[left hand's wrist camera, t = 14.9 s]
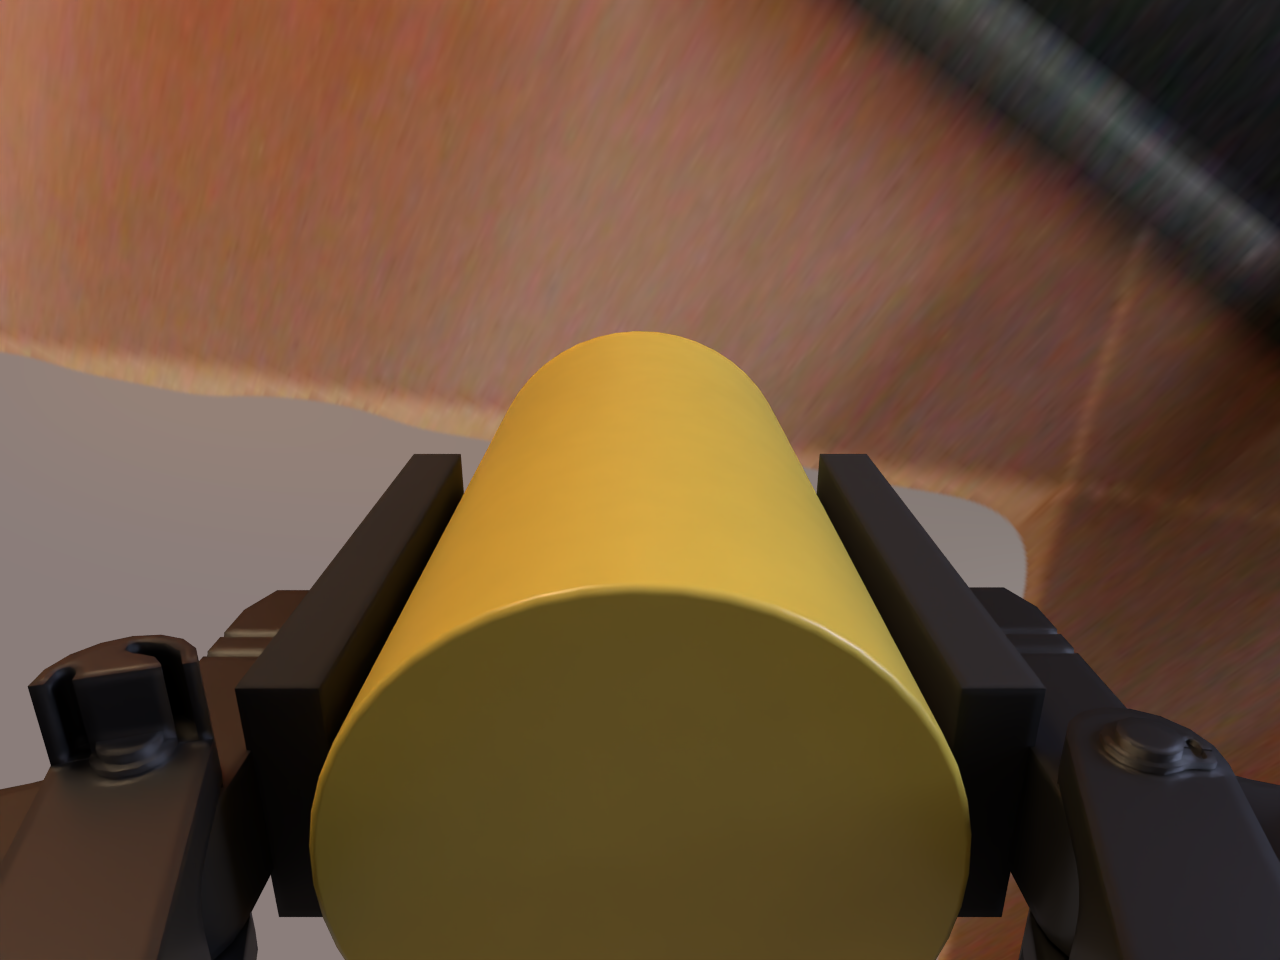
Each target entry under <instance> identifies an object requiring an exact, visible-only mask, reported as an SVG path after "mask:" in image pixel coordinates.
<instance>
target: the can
mask: <svg viewBox="0 0 1280 960" xmlns="http://www.w3.org/2000/svg"><path fill="white" fill-rule="evenodd" d="M309 849H310V858H311V867H312V876H313V884H314V888H315V892H316V895H317V899H318V902H319V905H320V909H321V912H322V916H323V918H324V921H325V923H326V925H327V927H328V929H329V931H330V933H331V936H332V938H333V940H334V942H335V944H336V947H337V948H338V950H339V951H340V953H341V954H342V956H343V957H344V959H345V960H936V959H937V957H938V955H939V953H940V952H941V950H942V948H943V947H944V945H945V943H946V942H947V940H948V938H949V936H950V933H951V931H952V929H953V926H954V924H955V921H956V919H957V916H958V914H959V911H960V909H961V906H962V902H963V898H964V893H965V889H966V885H967V880H968V876H969V866H970V850H971V825H970V816H969V807H968V799H967V796H966V792H965V789H964V785H963V781H962V778H961V774H960V771H959V767H958V765H957V763H956V760H955V758H954V756H953V754H952V752H951V750H950V748H949V746H948V744H947V741H946V739H945V737H944V735H943V733H942V731H941V729H940V727H939V725H938V723H937V722H936V720H935V718H934V716H933V714H932V712H931V710H930V708H929V706H928V705H927V703H926V701H925V699H924V697H923V695H922V693H921V691H920V689H919V687H918V686H917V684H916V682H915V680H914V678H913V676H912V674H911V672H910V670H909V669H908V667H907V665H906V663H905V661H904V659H903V657H902V655H901V653H900V651H899V650H898V648H897V646H896V644H895V642H894V640H893V638H892V636H891V634H890V633H889V631H888V629H887V627H886V625H885V623H884V621H883V619H882V617H881V615H880V614H879V612H878V610H877V608H876V606H875V604H874V602H873V600H872V598H871V597H870V595H869V593H868V591H867V589H866V587H865V585H864V583H863V581H862V579H861V578H860V576H859V574H858V572H857V570H856V568H855V566H854V564H853V562H852V560H851V559H850V557H849V555H848V553H847V551H846V549H845V547H844V545H843V543H842V542H841V540H840V538H839V536H838V534H837V532H836V530H835V528H834V526H833V524H832V523H831V521H830V519H829V517H828V515H827V513H826V511H825V509H824V507H823V506H822V504H821V502H820V500H819V498H818V496H817V494H816V492H815V491H814V488H813V487H812V485H811V483H810V481H809V479H808V477H807V475H806V473H805V471H804V470H803V468H802V466H801V464H800V462H799V460H798V458H797V456H796V454H795V452H794V451H793V449H792V447H791V445H790V443H789V441H788V439H787V437H786V435H785V434H784V432H783V430H782V428H781V426H780V424H779V422H778V420H777V418H776V416H775V415H774V413H773V411H772V409H771V407H770V405H769V403H768V402H767V400H766V399H765V397H764V396H763V394H762V393H761V391H760V390H759V388H758V387H757V386H756V385H755V384H754V383H753V381H752V380H751V379H750V378H749V377H748V376H747V375H746V374H745V373H744V372H743V371H742V370H741V369H740V368H738V367H737V366H736V365H735V364H734V363H733V362H731V361H730V360H729V359H727V358H725V357H724V356H722V355H721V354H719V353H718V352H716V351H715V350H713V349H711V348H708V347H706V346H704V345H702V344H700V343H698V342H695V341H692V340H689V339H686V338H683V337H680V336H676V335H670V334H665V333H659V332H642V331H634V332H622V333H614V334H610V335H605V336H601V337H597V338H594V339H591V340H588V341H586V342H583V343H580V344H578V345H576V346H574V347H572V348H570V349H568V350H566V351H564V352H562V353H560V354H559V355H558V356H556V357H555V358H553V359H552V360H551V361H549V362H548V363H546V364H545V365H544V366H543V367H542V368H541V369H539V370H538V371H537V372H536V373H535V374H534V375H533V376H532V377H531V378H530V379H529V380H528V382H527V383H526V384H525V385H524V386H523V388H522V389H521V390H520V391H519V393H518V394H517V396H516V398H515V399H514V401H513V402H512V404H511V406H510V407H509V409H508V411H507V413H506V415H505V417H504V419H503V421H502V422H501V424H500V426H499V428H498V430H497V432H496V434H495V436H494V438H493V440H492V441H491V443H490V445H489V447H488V449H487V451H486V453H485V455H484V457H483V459H482V460H481V462H480V464H479V466H478V468H477V470H476V472H475V474H474V476H473V478H472V480H471V481H470V483H469V485H468V487H467V489H466V491H465V493H464V495H463V497H462V498H461V500H460V502H459V504H458V506H457V508H456V510H455V512H454V514H453V515H452V517H451V519H450V521H449V523H448V525H447V527H446V529H445V531H444V533H443V534H442V536H441V538H440V540H439V542H438V544H437V546H436V548H435V550H434V552H433V553H432V555H431V557H430V559H429V561H428V563H427V565H426V567H425V569H424V571H423V572H422V574H421V576H420V578H419V580H418V582H417V584H416V586H415V588H414V590H413V591H412V593H411V595H410V597H409V599H408V601H407V603H406V605H405V607H404V609H403V610H402V612H401V614H400V616H399V618H398V620H397V622H396V624H395V626H394V628H393V629H392V631H391V633H390V635H389V637H388V639H387V641H386V643H385V645H384V647H383V648H382V650H381V652H380V654H379V656H378V658H377V660H376V662H375V664H374V666H373V667H372V669H371V671H370V673H369V675H368V677H367V679H366V681H365V683H364V685H363V686H362V688H361V690H360V692H359V694H358V696H357V698H356V700H355V702H354V704H353V705H352V707H351V709H350V711H349V713H348V715H347V717H346V719H345V721H344V723H343V724H342V726H341V728H340V730H339V732H338V734H337V736H336V738H335V740H334V742H333V744H332V746H331V748H330V751H329V753H328V756H327V758H326V761H325V763H324V765H323V768H322V770H321V773H320V775H319V778H318V783H317V787H316V791H315V796H314V800H313V805H312V809H311V822H310V840H309Z"/></svg>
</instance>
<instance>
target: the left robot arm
mask: <svg viewBox="0 0 1280 960" xmlns="http://www.w3.org/2000/svg"><path fill="white" fill-rule="evenodd" d="M463 495H464V490H463V477H462V464H461V454H414V455H413V456H412V457H411V459H410V460H409V461H408V463H407V464H406V465H405V467H404V468H403V469H402V470H401V472H400V473H399V474H398V476H397V477H396V478H395V480H394V481H393V482H392V484H391V485H390V486H389V487H388V489H387V490H386V491H385V493H384V494H383V495H382V497H381V498H380V499H379V500H378V502H377V503H376V504H375V506H374V507H373V508H372V510H371V511H370V512H369V514H368V515H367V516H366V517H365V519H364V520H363V521H362V523H361V524H360V525H359V527H358V528H357V529H356V530H355V532H354V533H353V534H352V536H351V537H350V538H349V540H348V541H347V542H346V544H345V545H344V546H343V547H342V549H341V550H340V551H339V553H338V554H337V555H336V557H335V558H334V559H333V560H332V562H331V563H330V564H329V566H328V567H327V568H326V570H325V571H324V572H323V573H322V575H321V576H320V577H319V579H318V580H317V581H316V583H315V584H314V585H313V587H312V588H311V589H310V590H277V591H275V592H274V593H272V594H270V595H269V596H267V597H265V598H263V599H262V600H260V601H258V602H257V603H255V604H253V605H252V606H250V607H248V608H247V609H245V610H244V611H243V612H242V613H241V614H240V615H239V616H238V618H237V619H236V620H235V621H234V622H233V623H232V624H231V626H230V627H229V628H228V629H227V630H226V631H225V633H224V637H220V638H219V639H218V640H217V642H216V643H215V644H214V645H213V646H212V647H211V648H210V649H209V651H208V655H207V657H202V659H201V660H200V661H199V660H198V656H197V651H196V648H195V647H194V646H192V645H191V644H189V643H188V642H187V641H185V640H184V639H181V638H175V637H170V636H165V635H147V636H132V637H127V638H122V639H117V640H113V641H108V642H104V643H100V644H97V645H94V646H92V647H89V648H86V649H84V650H81V651H78V652H76V653H73V654H70V655H69V656H67V657H65V658H63V659H62V660H60V661H58V662H57V663H55V664H53V665H52V666H50V667H48V668H46V669H45V670H44V671H43V672H42V673H41V674H40V675H39V676H38V677H37V678H36V679H35V680H34V681H33V682H32V683H31V684H30V685H29V686H28V689H29V692H30V696H31V699H32V702H33V706H34V709H35V713H36V716H37V720H38V723H39V726H40V730H41V733H42V736H43V740H44V743H45V747H46V750H47V754H48V757H49V760H50V764H51V767H50V769H49V771H48V773H47V774H46V776H45V778H44V780H42V781H39V782H35V783H30V784H25V785H20V786H15V787H10V788H5V789H0V960H256V959H257V951H258V947H257V940H256V932H255V927H254V922H253V918H252V913H251V912H252V910H253V908H254V906H255V904H256V902H257V900H258V898H259V896H260V894H261V892H262V890H263V888H264V887H265V885H266V883H267V881H268V879H269V877H270V875H271V878H272V883H273V888H274V893H275V898H276V904H277V909H278V914H279V917H323V916H322V912H321V909H320V905H319V902H318V899H317V895H316V892H315V888H314V884H313V876H312V867H311V858H310V849H309V840H310V822H311V809H312V805H313V800H314V796H315V791H316V787H317V783H318V778H319V775H320V773H321V770H322V768H323V765H324V763H325V761H326V758H327V756H328V753H329V751H330V748H331V746H332V744H333V742H334V740H335V738H336V736H337V734H338V732H339V730H340V728H341V726H342V724H343V723H344V721H345V719H346V717H347V715H348V713H349V711H350V709H351V707H352V705H353V704H354V702H355V700H356V698H357V696H358V694H359V692H360V690H361V688H362V686H363V685H364V683H365V681H366V679H367V677H368V675H369V673H370V671H371V669H372V667H373V666H374V664H375V662H376V660H377V658H378V656H379V654H380V652H381V650H382V648H383V647H384V645H385V643H386V641H387V639H388V637H389V635H390V633H391V631H392V629H393V628H394V626H395V624H396V622H397V620H398V618H399V616H400V614H401V612H402V610H403V609H404V607H405V605H406V603H407V601H408V599H409V597H410V595H411V593H412V591H413V590H414V588H415V586H416V584H417V582H418V580H419V578H420V576H421V574H422V572H423V571H424V569H425V567H426V565H427V563H428V561H429V559H430V557H431V555H432V553H433V552H434V550H435V548H436V546H437V544H438V542H439V540H440V538H441V536H442V534H443V533H444V531H445V529H446V527H447V525H448V523H449V521H450V519H451V517H452V515H453V514H454V512H455V510H456V508H457V506H458V504H459V502H460V500H461V498H462V497H463ZM817 496H818V498H819V500H820V502H821V504H822V506H823V507H824V509H825V511H826V513H827V515H828V517H829V519H830V521H831V523H832V524H833V526H834V528H835V530H836V532H837V534H838V536H839V538H840V540H841V542H842V543H843V545H844V547H845V549H846V551H847V553H848V555H849V557H850V559H851V560H852V562H853V564H854V566H855V568H856V570H857V572H858V574H859V576H860V578H861V579H862V581H863V583H864V585H865V587H866V589H867V591H868V593H869V595H870V597H871V598H872V600H873V602H874V604H875V606H876V608H877V610H878V612H879V614H880V615H881V617H882V619H883V621H884V623H885V625H886V627H887V629H888V631H889V633H890V634H891V636H892V638H893V640H894V642H895V644H896V646H897V648H898V650H899V651H900V653H901V655H902V657H903V659H904V661H905V663H906V665H907V667H908V669H909V670H910V672H911V674H912V676H913V678H914V680H915V682H916V684H917V686H918V687H919V689H920V691H921V693H922V695H923V697H924V699H925V701H926V703H927V705H928V706H929V708H930V710H931V712H932V714H933V716H934V718H935V720H936V722H937V723H938V725H939V727H940V729H941V731H942V733H943V735H944V737H945V739H946V741H947V744H948V746H949V748H950V750H951V752H952V754H953V756H954V758H955V760H956V763H957V765H958V767H959V771H960V774H961V778H962V781H963V785H964V789H965V792H966V796H967V799H968V807H969V816H970V825H971V850H970V866H969V876H968V880H967V885H966V889H965V893H964V898H963V902H962V906H961V909H960V911H959V914H958V916H957V917H1002V912H1003V907H1004V902H1005V896H1006V891H1007V886H1008V881H1009V876H1010V871H1011V873H1012V875H1013V877H1014V879H1015V881H1016V883H1017V885H1018V887H1019V889H1020V891H1021V892H1022V894H1023V896H1024V898H1025V900H1026V902H1027V904H1028V906H1029V913H1028V918H1027V922H1026V927H1025V932H1024V937H1023V941H1022V946H1021V951H1020V956H1019V960H1280V785H1275V784H1270V783H1265V782H1260V781H1255V780H1250V779H1246V778H1242V777H1238V776H1235V775H1234V773H1233V771H1232V769H1231V767H1230V765H1229V764H1228V762H1227V761H1226V760H1225V759H1224V758H1223V756H1222V755H1221V754H1220V753H1219V751H1218V750H1217V749H1216V748H1215V747H1214V746H1213V745H1212V744H1210V743H1209V742H1207V741H1206V740H1205V739H1203V738H1202V737H1200V736H1199V735H1197V734H1196V733H1194V732H1193V731H1192V730H1190V729H1188V728H1186V727H1183V726H1181V725H1179V724H1177V723H1174V722H1172V721H1170V720H1168V719H1165V718H1163V717H1161V716H1157V715H1153V714H1149V713H1145V712H1141V711H1137V710H1133V709H1127V708H1126V707H1125V706H1124V705H1123V704H1122V703H1121V701H1120V700H1119V699H1118V698H1117V697H1116V696H1115V695H1114V694H1113V692H1112V691H1111V690H1110V689H1109V688H1108V687H1107V686H1106V684H1105V683H1104V682H1103V681H1102V680H1101V679H1100V678H1099V677H1098V675H1097V674H1096V673H1095V672H1094V671H1093V670H1092V669H1091V668H1090V666H1089V665H1088V664H1087V663H1086V662H1085V661H1084V660H1083V659H1082V657H1081V656H1080V655H1079V654H1078V653H1074V648H1073V647H1072V646H1071V645H1070V644H1069V643H1068V642H1067V640H1066V639H1065V638H1064V637H1063V636H1062V635H1061V634H1057V629H1056V628H1055V627H1054V626H1053V625H1052V624H1051V622H1050V621H1049V620H1048V619H1047V618H1046V617H1045V616H1044V614H1043V613H1042V612H1041V611H1040V610H1039V609H1038V608H1037V607H1036V606H1034V605H1033V604H1031V603H1029V602H1028V601H1026V600H1024V599H1022V598H1021V597H1019V596H1017V595H1016V594H1014V593H1012V592H1011V591H1009V590H1007V589H1005V588H969V587H968V586H967V584H966V583H965V582H964V581H963V579H962V578H961V577H960V575H959V574H958V573H957V571H956V570H955V569H954V568H953V566H952V565H951V564H950V562H949V561H948V560H947V558H946V557H945V556H944V554H943V553H942V552H941V551H940V549H939V548H938V547H937V545H936V544H935V543H934V541H933V540H932V539H931V537H930V536H929V535H928V534H927V532H926V531H925V530H924V528H923V527H922V526H921V524H920V523H919V522H918V521H917V519H916V518H915V517H914V515H913V514H912V513H911V511H910V510H909V509H908V507H907V506H906V505H905V504H904V502H903V501H902V500H901V498H900V497H899V496H898V494H897V493H896V492H895V491H894V489H893V488H892V487H891V485H890V484H889V483H888V481H887V480H886V479H885V477H884V476H883V475H882V474H881V472H880V471H879V470H878V468H877V467H876V466H875V464H874V463H873V462H872V461H871V459H870V458H869V457H868V455H867V454H820V459H819V472H818V485H817Z"/></svg>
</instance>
